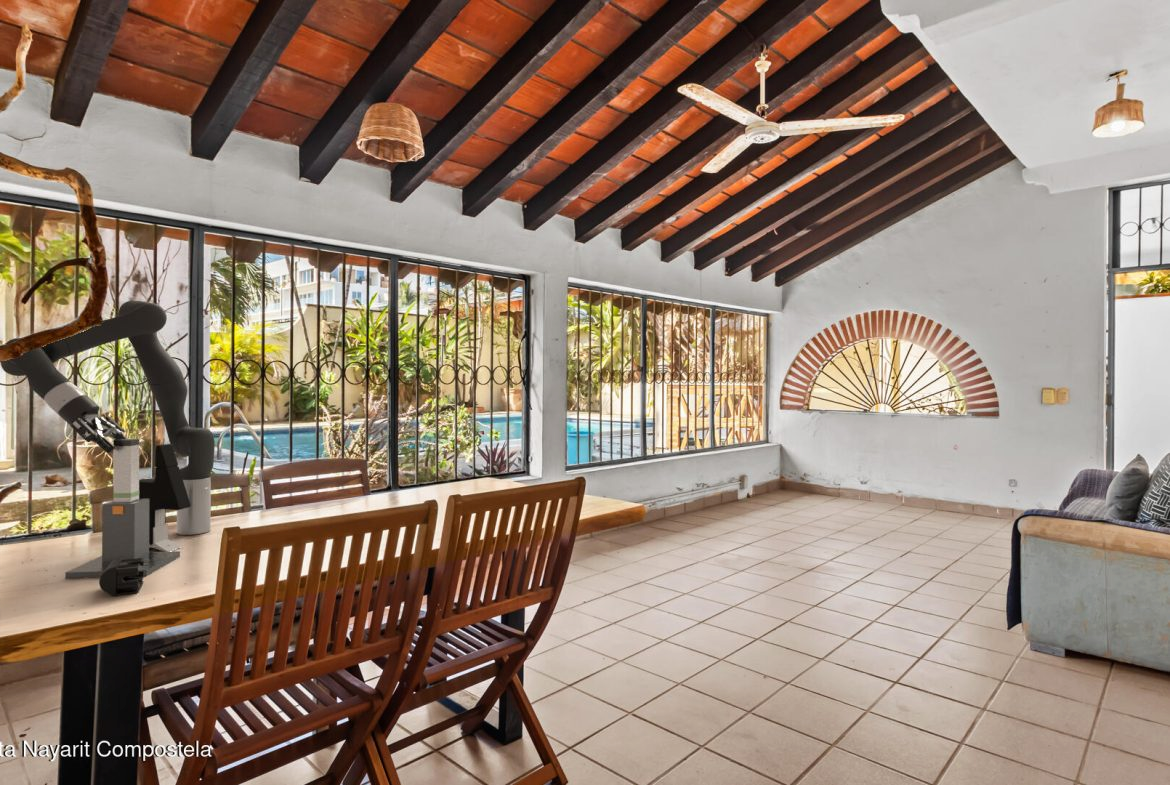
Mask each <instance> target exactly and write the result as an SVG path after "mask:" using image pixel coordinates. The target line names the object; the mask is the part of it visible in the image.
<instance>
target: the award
mask: <svg viewBox="0 0 1170 785" xmlns="http://www.w3.org/2000/svg"><path fill="white" fill-rule="evenodd" d="M154 458H155V461H154V462H155V464H154V467H155V468H154V479H152V478H150V479H149V478H142V479H141V478H140V479H139V499H149V549H150V548H152V549H156V550H159V551H160V552H170V551H172V552H174V551H173V550H175V549H178V548H180V547H182V546H181V545H179V544H177V543H176V542H174V541H172V540H170V538H169V526H168V523H166V522H167V518H166V516H167V513H166V512H167V511H166V510H169V511H170V510H172V511H177V510H181V509H184V508H188V507H190V506H191V504H190V501H189V498H188V495H187V491H186V488H185V485H184V482H183V479H182V475H181V472H180V469H181V468H180V467H179V462H178V460H177V456H176V453H175V452H174V449H173V446H172V445H171V444H170V443H165V444H158V445H155V457H154ZM178 550H179V549H178ZM175 551H176V550H175Z"/></svg>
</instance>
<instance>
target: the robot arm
mask: <svg viewBox="0 0 1170 785" xmlns="http://www.w3.org/2000/svg"><path fill="white" fill-rule="evenodd" d="M167 318H168V317H167V313H166V311H165V310H164V308H163V307H161V306H160V305H159V304H156V303H155V302H151V301H145V300H144V301H142V300H128V301H125V302H124V303H122V304H120V306H119V309H118V311H117V316H115V317H111V318H107V319H103V320H101V321H102V322H103V325H101V326H95V327H92V328H90V329H88V330H86V331H84V332H81V333H78V334H76V335H74V336H72V337H68V338H65V339H62V340H59V341H55V342H53V343H50V344H47V345H46V346H44V347H41V348H38V349H34V350H31V351H28V352H26V353H24V354H23V355H22V356H21V357H18V358H15V359H10V360H7V361H1V360H0V366H1V369H2V371H4V372H5V373H7V374H8V375H10V376H15V377H23V376H24V377H26V378H27V383H28V386H29V387H30V389H31V390H32V391H33V392H34V393H36V394H37V395H38V396H39V397H40V398H41V399H42V400H43V401H44V402H45V403H46V404H47V405H48V407H49V408H50V409H51V410H53V412H55V414H57V415H58V416H60V418H61V419H62V420H63V421H64V422H66V423H67V424H68V425H69V426H70V428H72V429H73V430H74V432H76V433H77V434H78V435H79V436H80V437H81V438H82V439H83V440H84V441H86V442H87V443H90V442H92V443H93V444H96V445H97V446H99V448H101V449H102V450H103V452H104V453H106V454H110V453H112V452H114V449H115V446H114V445H113V443H112V441H110V440H108V437H109V438H110V439H112V440H118V439H129V438H128V437H127V436H125V434H124V433H126V430H125V429H124V428H123V427H122V426H121V425H120V424H118V423H117V422H116V421H115V420H114V419H113V418H111V416H109V415H106V416H105V417H103V416H100V415H99V411H100V409H101V408H100V406H99V405H98V404H97V403H96V402H95V401H94V400H93V399H92V398H91V397H89V396H88V395H87V394H86V393H85V392H84V391H83V390H82V389H81V388H79V387H78V386H76V385H75V384H74V383H73V382H71V381H70V380H69V378H67V377H66V376H65V375H64V374H62V372H60V371H59V370H58V369H57V368H56V366H55V365H54V364H55V363H56V362H58V361H59V360H62V359H65V358H68V357H70V356H73V355H76V354H79V353H83V352H84V351H87V350H88V351H89V350H91V349H93V348H97V347H99V346H102V345H106V344H109V343H113V342H116V341H119V340H123V339H127V338H128V340H129V342H130V344H131V346H132V347H133V350H134V352H135V354H136V356H137V358H138V361H139V364H140V366H141V369H142V371H143V373H144V375H145V378H146V382H147V383H148V386H149V389H150V391H151V393H152V395H153V397H154V400H155V402H156V404H157V407H158V410H159V412H160V415H161V417H162V420H163V423H164V427H165V431H166V434H167V437H168V438H167V439H168V442H169V444H171V445H172V446H173V449H174V453H175V455H178V456H182V457H189V458H188V459H189V462H188V464H187V465H186V466H184V467H182V468H179V469H180V472H181V475H182V479H183V482H184V485H185V488H186V491H187V495H188V498H189V501H190V504H191V506H190V507H188V508H184V509H181V510H176V534H177V535H181V536H185V535H186V536H189V535H192V536H193V535H198V534H199V535H200V534H205V533H208V532H210V531H211V516H212V515H211V509H212V508H211V503H212V502H211V500H212V499H211V498H212V497H211V496H212V495H211V493H212V492H211V490H212V486H211V483H212V482H211V480H212V478H211V477H212V471H213V468H214V462H215V460H214V459H215V447H216V445H215V436H214V433H213V432H212V430H210V429H209V428H206V427H191V426H190V425H189V422H188V420H187V418H186V415H185V406H186V405H185V404H186V401H187V397H188V385H187V383H186V379H185V377H184V375H183V372H182V370H181V368H180V367H179V365H178V364H177V362H176V361H175V359H174V358H173V357H172V356H171V355H170V354H169V352H168V351H167V350H166V349H165V347H164V346H163V345H162V343H161V342H160V340H159V338H158V335H157V333H158V332H160V331H161V330H162V329H163V328H164V327H165V326H166V323H167ZM19 339H22V337H16V338H12V339H9V340H8V341H6V342H5V344H9V343H12V342H14V341H17V340H19Z"/></svg>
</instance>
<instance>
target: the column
mask: <svg viewBox="0 0 1170 785" xmlns="http://www.w3.org/2000/svg"><path fill="white" fill-rule="evenodd" d="M112 440H113V443H112V444H113V445H114V446H115V449H114V450H113V494H112V497H113V501H114V503H133V502H136V501H139V480H140V440H141V439H140V438H128V439H118V440H114V439H112Z"/></svg>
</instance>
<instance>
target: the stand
mask: <svg viewBox="0 0 1170 785" xmlns="http://www.w3.org/2000/svg"><path fill="white" fill-rule="evenodd" d="M101 506H102V507H101V510H102V511H101V512H102V513H101V515H102V516H101V524H102V525H101V527H102V528H101V529H102V531H101V533H102V534H101V547H102V548H101V556H98V557H96V558H94V559H91V560H89V561H88V562H86V563H83V564H81V565H78V566H77V567H73V568H72V569H70V570H67V571H66V572H65V573H64V574H65V576H64V577H65V578H69V579H86V578H85V577H101V575H102V574H103V572H104V571H105V570H106V568H107V567H108V566H109V564H110V563H111V562H112V561H113V560H115V559H117V558H119V557H124V560H126V559H137V558H144V565H143V566H140V567H139V569H138V571H143V570H144V577H147V575H148V576H149V575H151V574H153V573H155V572H156V571H158V570H159V568H160V567H161V568H163V567H165V566H166V564H167V565H168V564H170V563H172V562H174V561H175V560H177V559H179V558H181V551H178V550H175V551H172V552H164V551H150V548H149V499H139V501H136V502H133V503H114V500H111V501H109V502H108V501H107V502H105V503H102V505H101ZM178 557H179V558H178ZM176 558H177V559H176ZM173 560H174V561H173ZM171 561H172V562H171ZM164 565H165V566H164ZM162 566H163V567H162ZM161 568H160V569H161ZM157 569H158V570H157ZM155 570H156V571H155ZM154 571H155V572H154ZM152 572H153V573H152Z"/></svg>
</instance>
